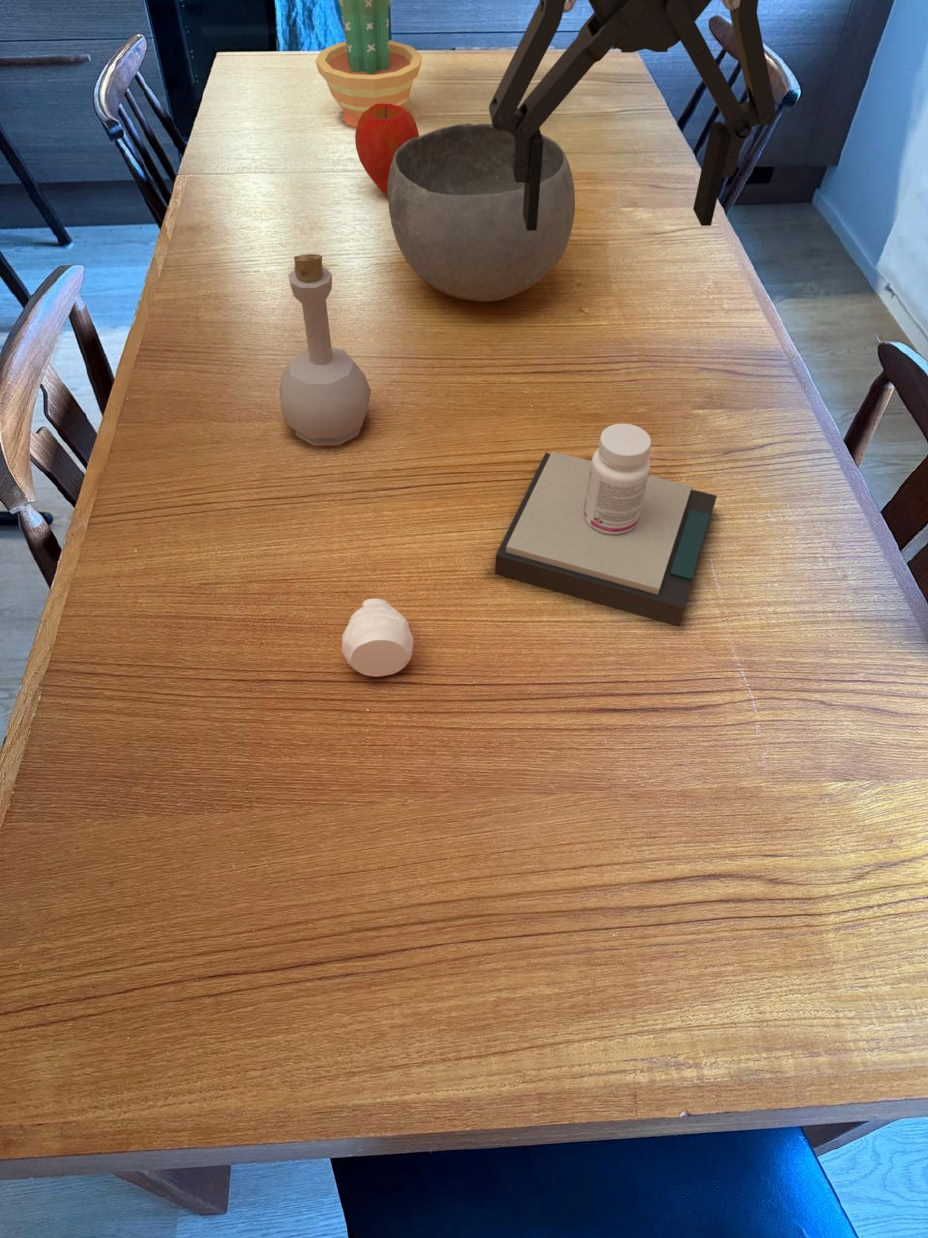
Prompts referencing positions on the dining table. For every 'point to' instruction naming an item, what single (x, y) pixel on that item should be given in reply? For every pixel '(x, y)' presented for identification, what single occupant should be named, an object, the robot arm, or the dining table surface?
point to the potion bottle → (321, 368)
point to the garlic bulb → (377, 639)
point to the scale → (607, 542)
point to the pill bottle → (618, 479)
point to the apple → (382, 139)
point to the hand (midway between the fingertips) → (616, 220)
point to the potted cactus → (367, 61)
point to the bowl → (477, 212)
